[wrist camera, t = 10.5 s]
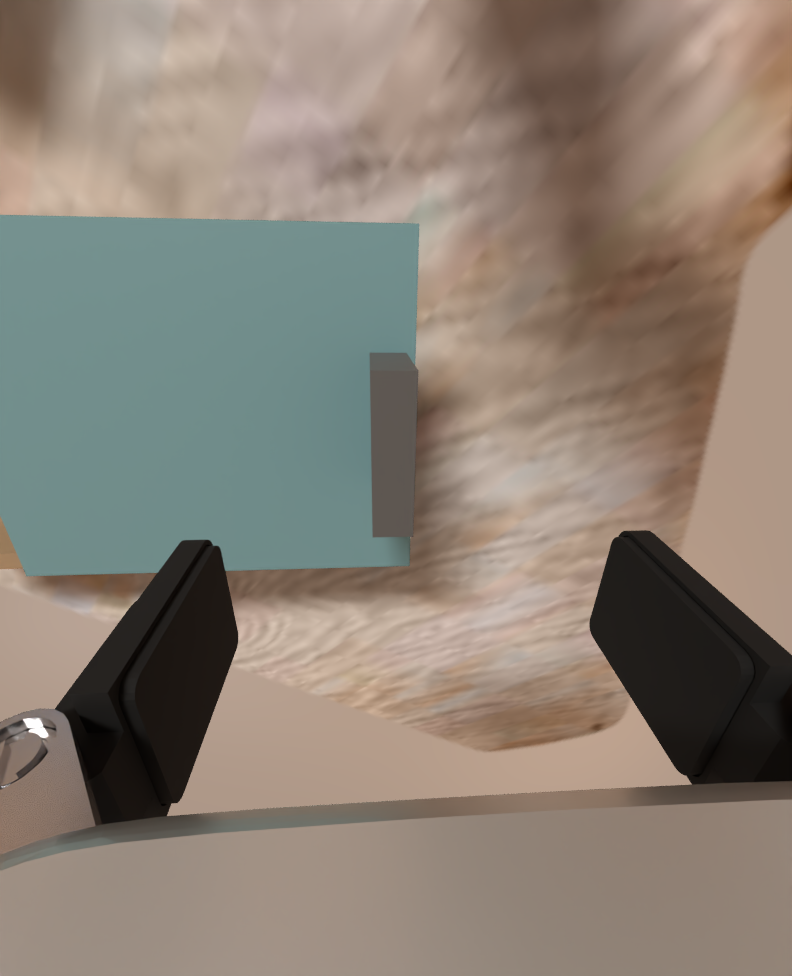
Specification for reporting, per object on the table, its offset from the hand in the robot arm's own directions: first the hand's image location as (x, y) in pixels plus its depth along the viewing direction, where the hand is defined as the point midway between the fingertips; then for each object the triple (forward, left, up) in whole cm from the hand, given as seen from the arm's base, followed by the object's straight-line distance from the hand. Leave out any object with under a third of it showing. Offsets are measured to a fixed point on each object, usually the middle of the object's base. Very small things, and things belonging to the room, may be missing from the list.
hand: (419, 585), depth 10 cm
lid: (+11, 0, -16) cm, 20 cm away
